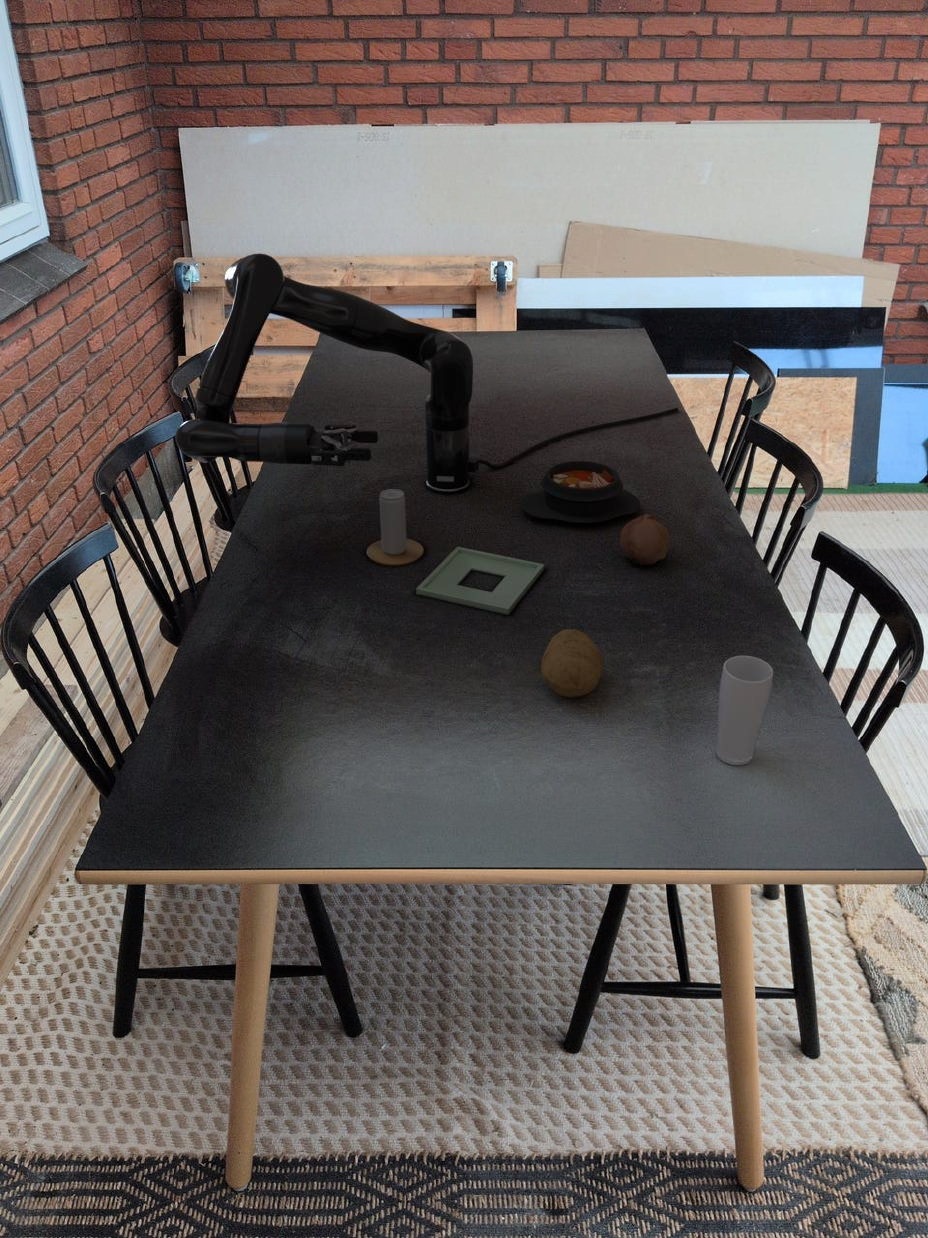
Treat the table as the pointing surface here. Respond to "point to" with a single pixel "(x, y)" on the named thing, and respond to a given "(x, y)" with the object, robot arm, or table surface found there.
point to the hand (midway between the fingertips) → (374, 445)
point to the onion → (644, 540)
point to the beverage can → (393, 521)
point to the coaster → (408, 556)
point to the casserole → (580, 494)
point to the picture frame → (464, 560)
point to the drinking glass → (742, 706)
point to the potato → (571, 664)
